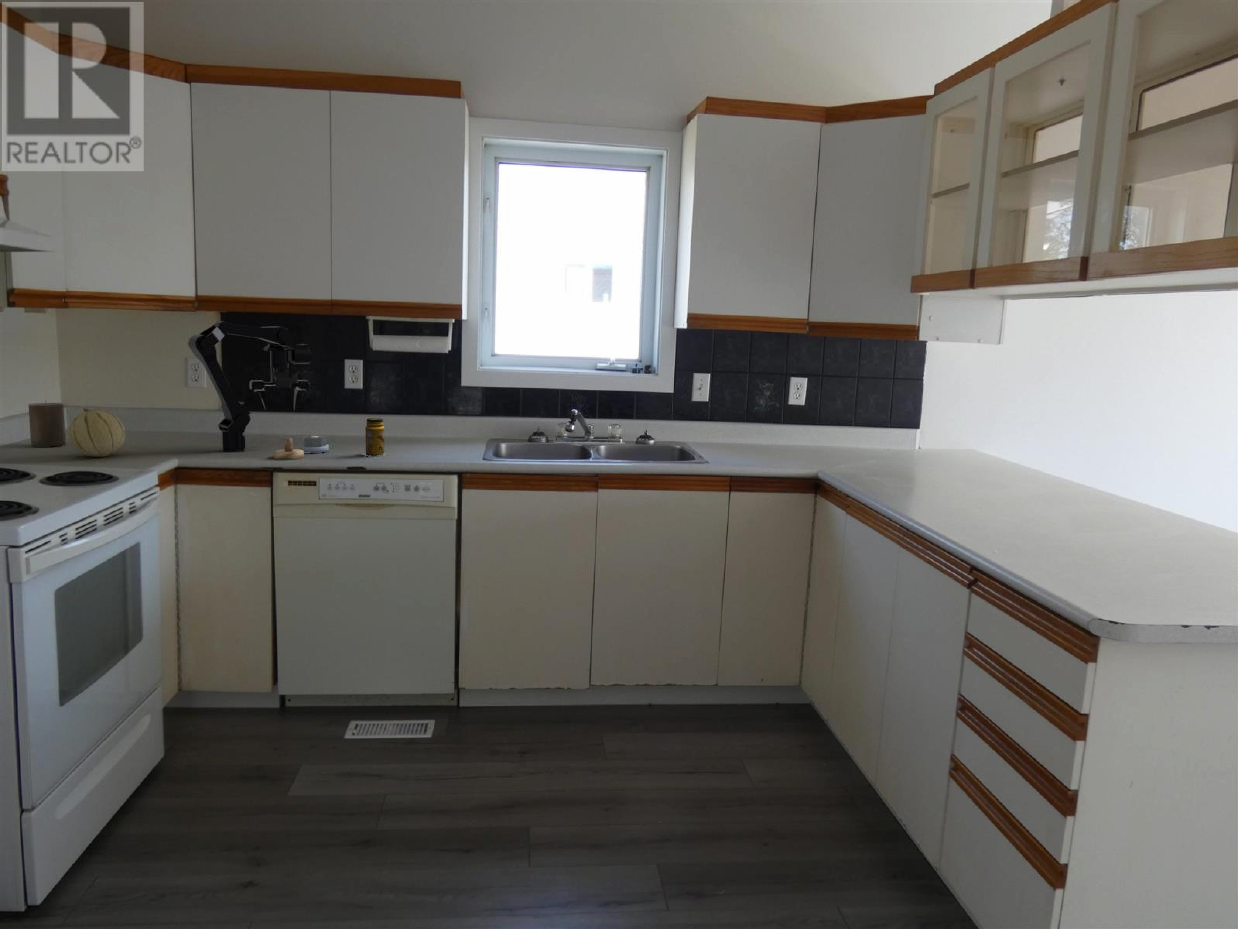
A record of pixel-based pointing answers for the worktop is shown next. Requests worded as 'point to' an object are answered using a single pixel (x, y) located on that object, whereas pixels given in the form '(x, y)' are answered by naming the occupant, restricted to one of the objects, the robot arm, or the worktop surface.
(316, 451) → the hub
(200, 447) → the worktop surface
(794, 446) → the worktop surface
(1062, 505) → the worktop surface
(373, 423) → the condiment
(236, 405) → the robot arm
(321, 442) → the ring
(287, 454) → the stand
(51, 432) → the pillar candle
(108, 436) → the cantaloupe
